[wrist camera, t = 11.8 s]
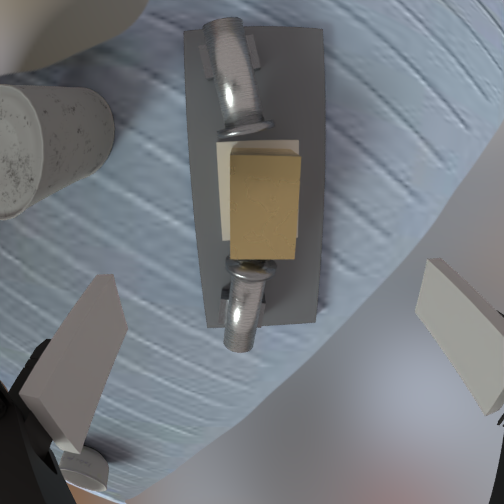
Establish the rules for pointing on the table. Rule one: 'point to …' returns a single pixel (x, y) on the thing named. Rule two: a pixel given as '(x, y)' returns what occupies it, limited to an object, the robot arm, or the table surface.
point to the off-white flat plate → (224, 172)
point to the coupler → (264, 203)
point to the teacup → (85, 469)
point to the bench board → (287, 128)
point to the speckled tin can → (49, 141)
